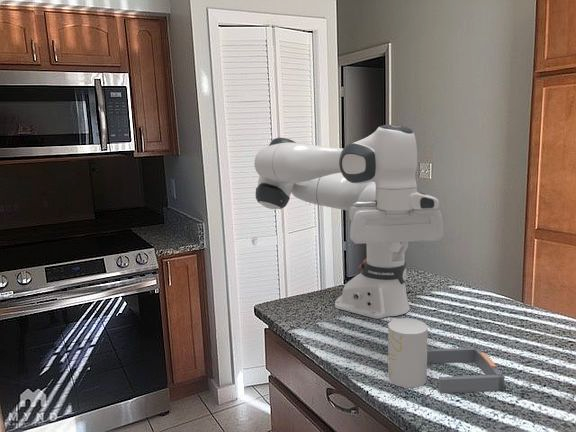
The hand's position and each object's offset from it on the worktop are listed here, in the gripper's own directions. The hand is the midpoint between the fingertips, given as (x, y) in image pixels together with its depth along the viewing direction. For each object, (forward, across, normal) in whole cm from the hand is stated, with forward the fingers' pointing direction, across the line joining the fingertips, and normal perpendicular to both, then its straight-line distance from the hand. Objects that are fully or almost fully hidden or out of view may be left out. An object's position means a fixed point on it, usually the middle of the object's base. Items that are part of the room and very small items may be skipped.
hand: (395, 260), depth 103 cm
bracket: (+24, +12, -8) cm, 28 cm away
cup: (+24, +1, -8) cm, 26 cm away
